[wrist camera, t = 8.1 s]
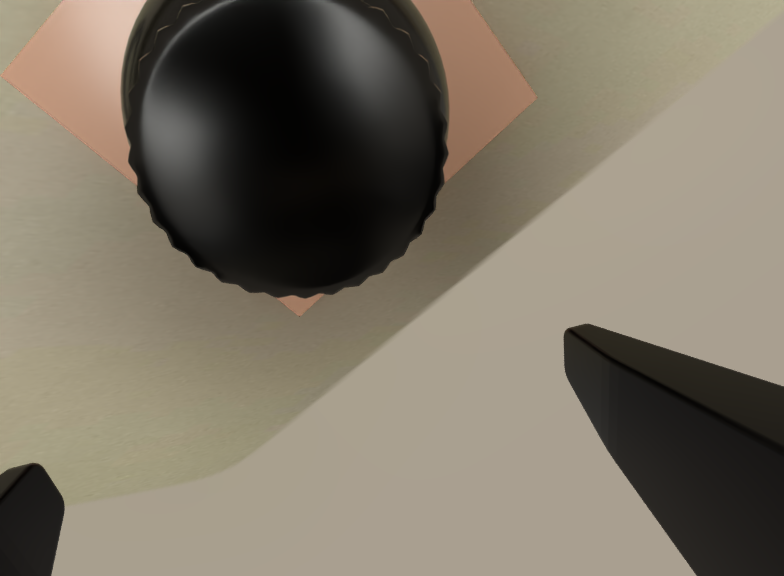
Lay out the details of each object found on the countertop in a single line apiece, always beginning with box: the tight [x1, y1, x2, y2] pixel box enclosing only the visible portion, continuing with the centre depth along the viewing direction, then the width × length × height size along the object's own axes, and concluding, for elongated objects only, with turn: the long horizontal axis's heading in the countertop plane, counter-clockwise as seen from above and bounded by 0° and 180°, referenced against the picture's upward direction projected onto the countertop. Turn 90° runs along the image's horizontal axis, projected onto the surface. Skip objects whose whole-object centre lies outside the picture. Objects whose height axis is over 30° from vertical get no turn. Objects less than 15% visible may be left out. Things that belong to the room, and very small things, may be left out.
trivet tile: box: [1, 0, 538, 317], centre depth 19 cm, size 13×13×1 cm
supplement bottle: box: [120, 0, 450, 299], centre depth 13 cm, size 7×7×12 cm
